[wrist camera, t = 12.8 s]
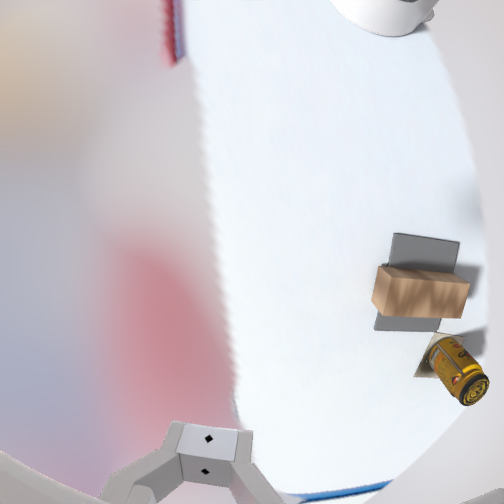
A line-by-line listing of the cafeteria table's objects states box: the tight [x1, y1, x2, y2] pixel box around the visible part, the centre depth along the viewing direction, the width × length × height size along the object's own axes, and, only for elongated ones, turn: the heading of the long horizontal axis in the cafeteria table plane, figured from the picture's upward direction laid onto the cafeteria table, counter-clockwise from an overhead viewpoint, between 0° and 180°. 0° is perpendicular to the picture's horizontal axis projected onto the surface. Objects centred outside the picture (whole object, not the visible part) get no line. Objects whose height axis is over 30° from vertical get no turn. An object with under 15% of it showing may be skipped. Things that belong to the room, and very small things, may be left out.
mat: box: [374, 233, 459, 332], centre depth 40 cm, size 14×11×1 cm
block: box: [371, 266, 470, 318], centre depth 37 cm, size 5×5×13 cm
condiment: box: [414, 332, 489, 406], centre depth 37 cm, size 7×8×12 cm
